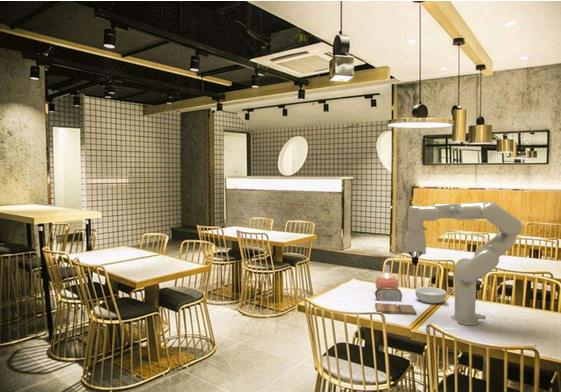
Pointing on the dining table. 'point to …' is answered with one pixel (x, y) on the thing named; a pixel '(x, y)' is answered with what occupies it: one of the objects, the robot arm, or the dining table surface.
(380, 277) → the vase
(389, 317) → the dining table surface
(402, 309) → the floor board
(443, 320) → the dining table surface
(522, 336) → the dining table surface
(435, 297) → the cereal bowl
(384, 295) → the tin
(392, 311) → the panel
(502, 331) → the dining table surface
